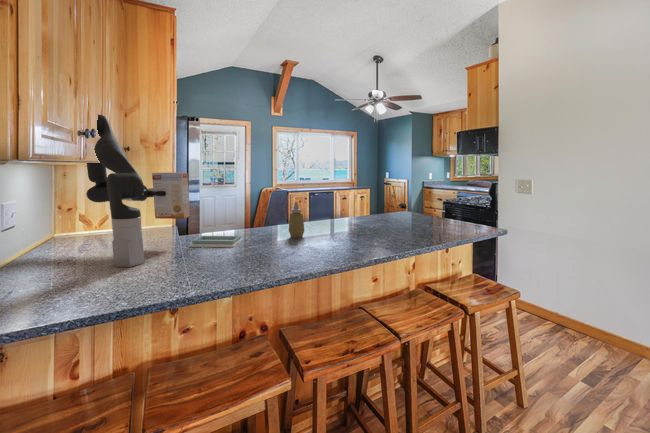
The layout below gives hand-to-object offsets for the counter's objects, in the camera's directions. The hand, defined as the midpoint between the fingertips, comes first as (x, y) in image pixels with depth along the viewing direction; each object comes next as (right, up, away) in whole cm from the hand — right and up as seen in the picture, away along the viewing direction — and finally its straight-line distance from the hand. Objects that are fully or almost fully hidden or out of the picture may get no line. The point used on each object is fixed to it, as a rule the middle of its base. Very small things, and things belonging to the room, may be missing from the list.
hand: (169, 193), depth 154 cm
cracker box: (+1, -12, +2) cm, 12 cm away
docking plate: (+21, -23, +3) cm, 31 cm away
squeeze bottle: (+57, -21, +17) cm, 63 cm away
